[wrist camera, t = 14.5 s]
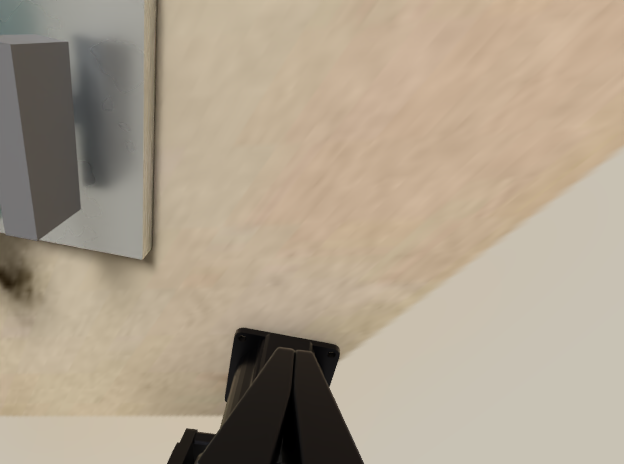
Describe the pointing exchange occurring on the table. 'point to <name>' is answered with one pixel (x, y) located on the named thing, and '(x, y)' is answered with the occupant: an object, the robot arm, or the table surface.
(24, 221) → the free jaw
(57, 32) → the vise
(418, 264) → the table surface
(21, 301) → the table surface
